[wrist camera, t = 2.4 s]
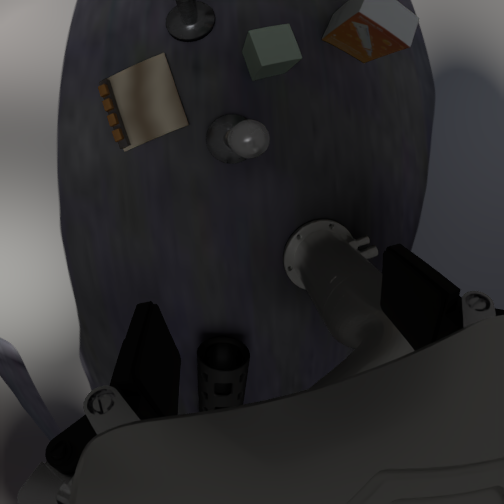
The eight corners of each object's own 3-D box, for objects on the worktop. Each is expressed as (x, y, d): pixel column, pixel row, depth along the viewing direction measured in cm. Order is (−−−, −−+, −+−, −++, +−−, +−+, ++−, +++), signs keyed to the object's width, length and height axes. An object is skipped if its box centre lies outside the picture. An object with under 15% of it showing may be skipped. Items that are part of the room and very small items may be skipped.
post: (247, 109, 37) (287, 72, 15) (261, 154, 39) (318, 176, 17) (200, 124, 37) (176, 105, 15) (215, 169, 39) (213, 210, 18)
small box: (320, 40, 33) (357, 11, 21) (332, 13, 31) (369, -19, 19) (364, 64, 35) (411, 48, 23) (374, 37, 33) (420, 17, 21)
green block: (274, 44, 33) (289, 23, 25) (284, 73, 35) (302, 58, 27) (241, 51, 33) (248, 30, 25) (252, 80, 35) (261, 66, 27)
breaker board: (165, 54, 32) (160, 47, 28) (189, 125, 36) (186, 123, 33) (104, 82, 32) (94, 78, 28) (126, 151, 37) (117, 152, 33)
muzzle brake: (247, 333, 52) (254, 372, 42) (237, 415, 62) (241, 449, 53) (196, 331, 50) (194, 371, 41) (199, 415, 61) (199, 449, 51)
